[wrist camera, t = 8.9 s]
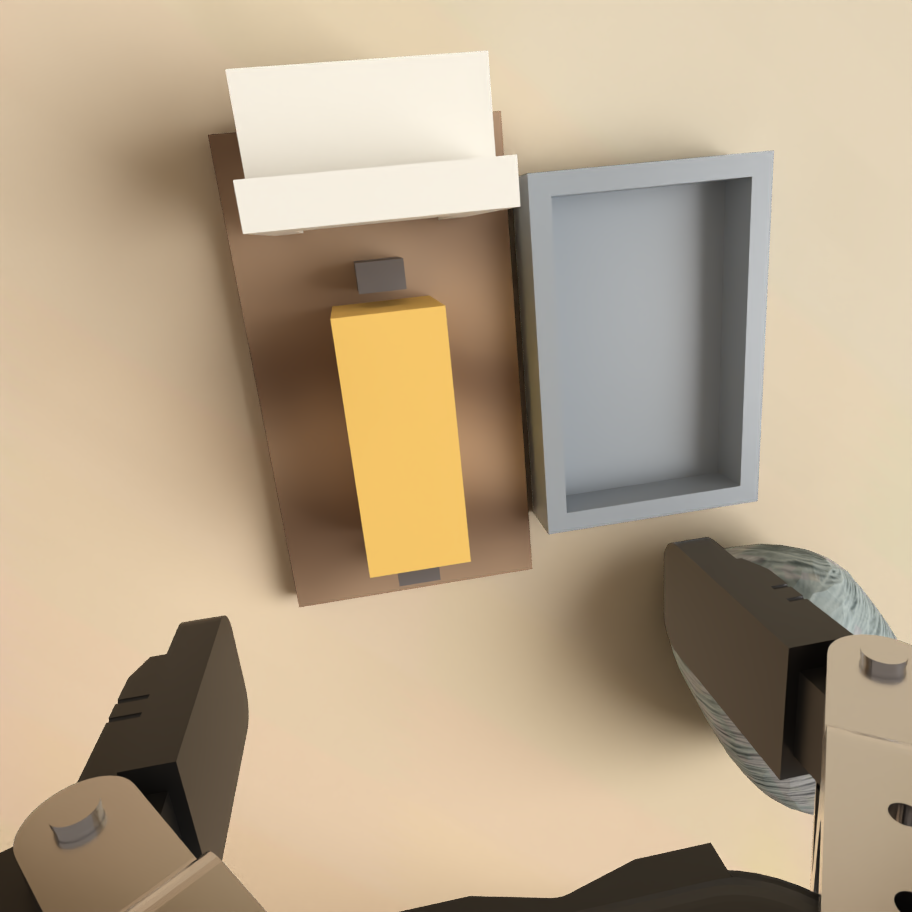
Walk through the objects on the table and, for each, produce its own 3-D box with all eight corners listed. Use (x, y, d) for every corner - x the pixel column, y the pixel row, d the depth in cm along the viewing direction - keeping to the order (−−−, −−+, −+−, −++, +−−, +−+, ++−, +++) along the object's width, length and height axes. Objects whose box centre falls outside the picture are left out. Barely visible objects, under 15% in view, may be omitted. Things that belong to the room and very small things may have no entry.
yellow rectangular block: (452, 516, 28) (470, 561, 24) (366, 529, 28) (370, 577, 24) (429, 295, 25) (445, 305, 21) (332, 306, 25) (330, 319, 21)
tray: (727, 481, 31) (757, 501, 29) (533, 512, 30) (548, 534, 28) (737, 158, 27) (774, 150, 24) (511, 179, 26) (527, 173, 23)
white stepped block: (465, 216, 25) (520, 206, 17) (274, 236, 24) (242, 233, 16) (455, 93, 23) (508, 23, 16) (252, 109, 22) (207, 43, 15)
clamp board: (526, 558, 30) (547, 595, 27) (300, 595, 29) (295, 638, 26) (494, 116, 25) (517, 97, 22) (213, 138, 24) (193, 123, 20)
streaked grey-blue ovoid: (596, 630, 28) (855, 755, 21) (710, 474, 32) (965, 533, 24) (677, 778, 36) (888, 908, 28) (762, 638, 39) (969, 722, 32)
